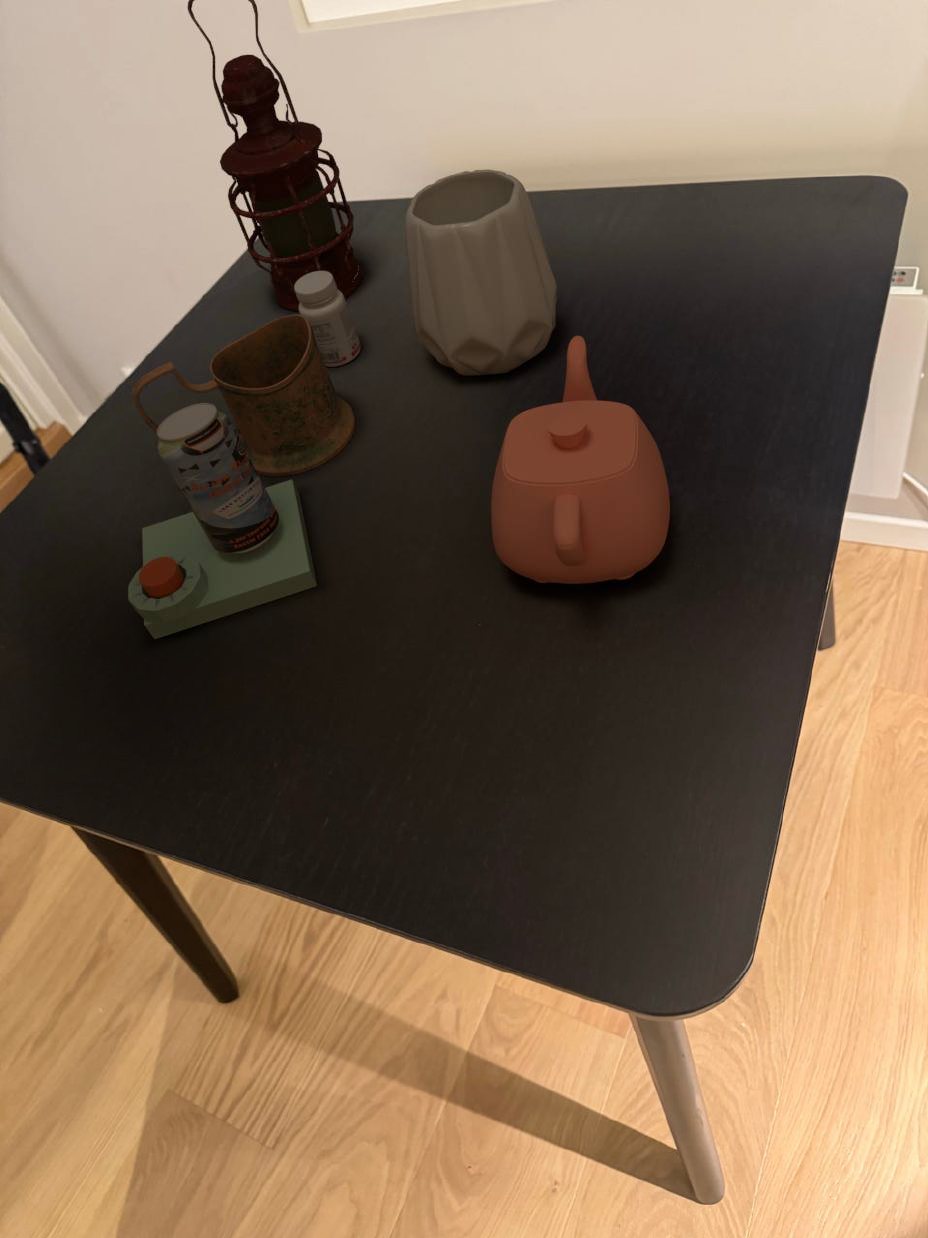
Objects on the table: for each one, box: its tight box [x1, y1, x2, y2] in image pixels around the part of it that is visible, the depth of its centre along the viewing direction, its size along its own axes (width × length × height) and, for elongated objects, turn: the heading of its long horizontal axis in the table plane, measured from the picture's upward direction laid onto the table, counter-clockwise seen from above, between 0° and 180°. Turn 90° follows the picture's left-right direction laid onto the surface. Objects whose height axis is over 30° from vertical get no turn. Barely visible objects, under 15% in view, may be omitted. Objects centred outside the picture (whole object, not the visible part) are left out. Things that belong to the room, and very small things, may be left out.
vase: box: [404, 169, 558, 377], centre depth 87 cm, size 14×14×15 cm
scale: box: [127, 479, 318, 640], centre depth 79 cm, size 14×13×4 cm
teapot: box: [490, 335, 671, 585], centre depth 69 cm, size 13×20×12 cm, turn 173°
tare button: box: [139, 557, 184, 599], centre depth 75 cm, size 3×3×2 cm
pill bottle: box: [294, 271, 361, 368], centre depth 94 cm, size 5×5×8 cm
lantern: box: [186, 0, 364, 312], centre depth 96 cm, size 12×12×30 cm
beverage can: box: [156, 402, 279, 553], centre depth 75 cm, size 6×7×12 cm
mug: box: [131, 313, 356, 477], centre depth 85 cm, size 12×18×12 cm, turn 117°
